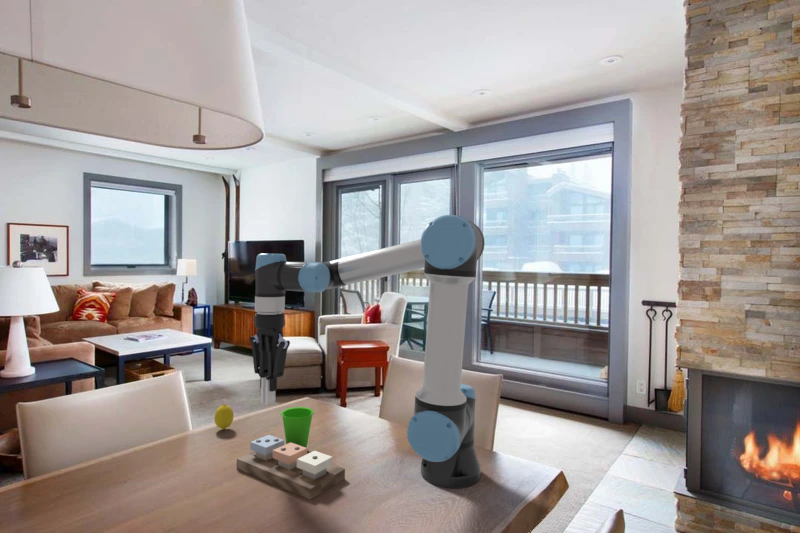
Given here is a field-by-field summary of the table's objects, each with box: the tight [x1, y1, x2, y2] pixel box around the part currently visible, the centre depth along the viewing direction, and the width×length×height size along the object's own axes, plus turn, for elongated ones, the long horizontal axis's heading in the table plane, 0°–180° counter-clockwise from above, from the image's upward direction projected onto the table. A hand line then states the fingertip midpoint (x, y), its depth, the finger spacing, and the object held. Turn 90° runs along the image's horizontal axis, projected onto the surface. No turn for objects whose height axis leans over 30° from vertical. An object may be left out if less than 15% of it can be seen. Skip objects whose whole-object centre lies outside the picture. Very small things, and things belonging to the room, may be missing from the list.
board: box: [236, 451, 346, 501], centre depth 115 cm, size 26×12×2 cm, turn 57°
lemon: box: [214, 403, 234, 431], centre depth 142 cm, size 6×6×8 cm
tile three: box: [249, 434, 285, 461], centre depth 119 cm, size 6×6×5 cm
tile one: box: [297, 450, 334, 480], centre depth 110 cm, size 6×6×5 cm
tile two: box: [273, 442, 308, 470], centre depth 115 cm, size 6×6×5 cm
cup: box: [280, 406, 315, 449], centre depth 128 cm, size 9×9×11 cm
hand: (268, 402), depth 119 cm, fingers closed
